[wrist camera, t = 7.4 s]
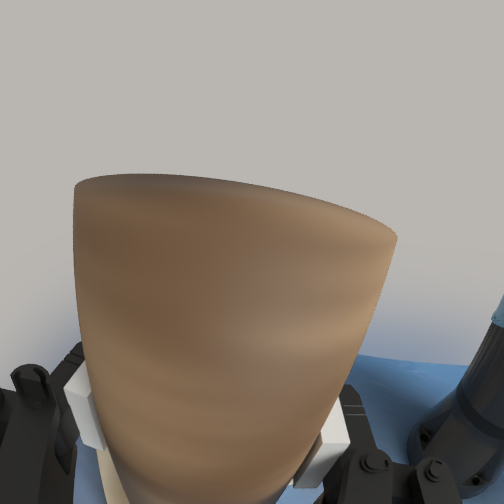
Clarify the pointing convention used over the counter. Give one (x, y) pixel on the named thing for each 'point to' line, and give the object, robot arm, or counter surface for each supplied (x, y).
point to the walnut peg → (218, 327)
